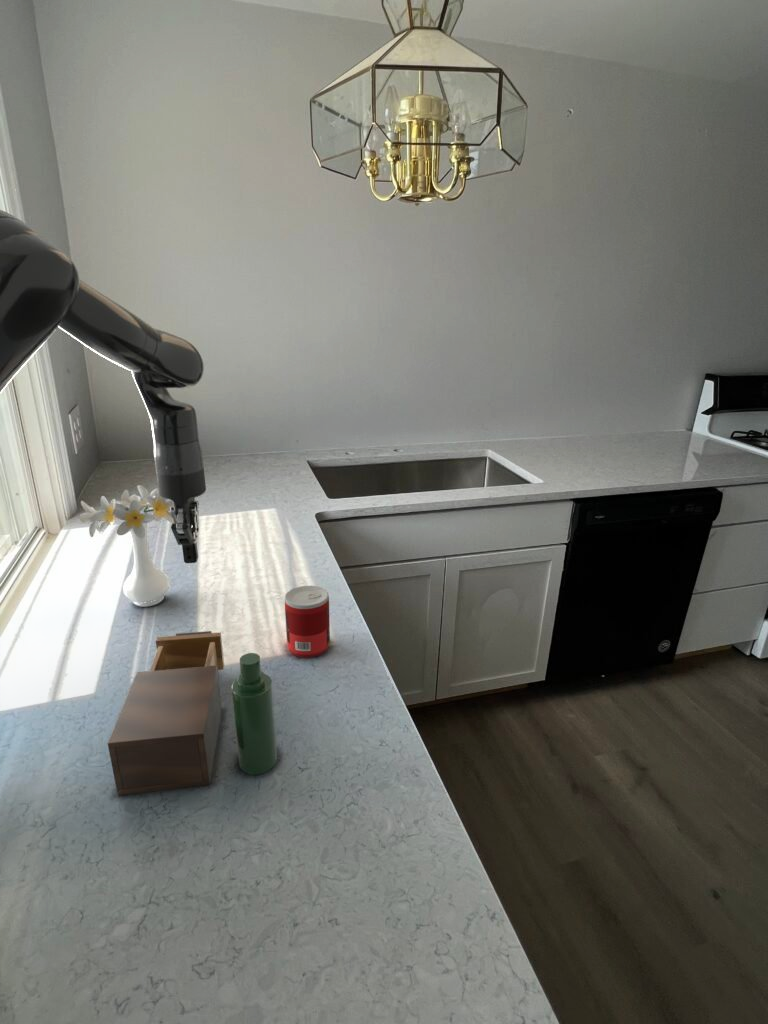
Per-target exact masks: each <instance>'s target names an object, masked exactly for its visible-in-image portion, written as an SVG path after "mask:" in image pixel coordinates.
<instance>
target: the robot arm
mask: <svg viewBox="0 0 768 1024" xmlns="http://www.w3.org/2000/svg"><path fill="white" fill-rule="evenodd" d="M58 328H59V329H60V330H62V331H63V332H65V333H67V334H68V335H70V336H71V337H72V338H73V339H75V340H77V341H78V342H80V343H81V344H82V345H84V346H85V347H86V348H89V349H90V350H91V351H93V352H94V353H96V354H98V355H99V356H100V357H103V358H105V359H106V360H108V361H110V362H111V363H114V364H116V365H118V366H119V367H122V368H124V369H126V370H128V371H131V374H132V375H131V376H132V378H133V380H134V382H135V384H136V387H137V389H138V391H139V394H140V396H141V398H142V401H143V403H144V406H145V408H146V410H147V413H148V417H149V419H150V424H151V431H152V432H151V433H152V440H153V441H152V442H153V459H154V467H155V474H156V480H157V488H158V489H159V494H160V496H161V497H163V498H165V499H166V500H169V501H173V507H171V511H170V513H171V516H172V518H173V519H174V524H173V523H171V525H170V530H171V531H172V534H173V536H174V538H175V541H176V543H177V545H178V546H181V548H182V556H183V562H184V563H185V564H195V563H197V562H198V559H199V552H198V550H199V549H198V541H197V540H198V538H199V535H198V533H199V531H200V528H199V525H200V519H199V509H200V502H199V500H196V498H199V497H200V496H202V495H204V494H205V492H206V490H207V485H206V477H205V476H206V475H205V466H204V457H203V451H202V446H201V443H200V435H199V427H198V418H197V412H196V409H195V407H194V406H193V405H192V404H190V403H188V402H184V401H181V400H177V399H175V398H174V397H173V396H172V394H171V393H170V392H169V390H168V389H190V388H193V387H195V386H196V385H197V384H199V382H200V381H201V379H202V378H203V375H204V371H205V370H204V369H205V366H204V365H205V364H204V361H203V358H202V355H201V354H200V352H199V350H198V349H197V348H196V346H194V344H193V343H191V342H189V341H188V340H186V339H184V338H182V337H179V336H177V335H174V334H172V333H169V332H167V331H164V330H161V329H157V328H155V327H152V325H150V324H149V323H147V322H146V321H145V320H143V319H142V318H141V317H140V316H138V315H136V314H134V313H133V312H131V311H130V310H129V309H127V308H125V307H124V306H122V305H121V304H120V303H117V301H116V302H115V301H114V300H113V299H111V298H109V297H108V296H106V295H104V293H101V292H100V291H99V290H97V289H95V288H94V287H92V286H90V285H88V284H87V283H86V282H84V281H83V280H81V279H80V275H79V271H78V268H77V266H76V264H75V262H74V261H73V259H71V257H70V256H68V254H66V253H65V252H64V251H62V250H61V249H60V248H59V247H57V246H56V245H55V244H53V243H52V242H50V241H49V240H48V239H46V238H45V236H43V235H41V234H40V233H38V231H36V230H35V229H33V228H32V227H31V226H29V225H27V224H26V223H25V222H23V221H22V220H20V218H17V217H16V216H14V215H12V214H11V213H9V212H7V211H4V210H2V209H0V394H1V393H2V392H3V390H5V389H6V387H7V386H8V384H9V383H10V382H11V381H12V380H13V379H14V377H15V376H16V375H17V374H18V373H19V372H20V371H21V369H22V368H23V367H24V366H25V365H26V364H27V363H28V362H29V360H30V359H31V358H32V357H33V356H34V355H35V354H36V353H37V351H38V350H40V349H41V348H42V346H43V345H44V344H45V343H46V342H47V341H48V339H49V338H50V337H51V336H52V335H53V333H55V331H56V330H57V329H58Z"/></svg>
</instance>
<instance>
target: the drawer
mask: <svg viewBox="0 0 768 1024" xmlns="http://www.w3.org/2000/svg"><path fill="white" fill-rule="evenodd" d="M155 647H156V652H155V655H154V657H153V660H152V663H151V665H150V668H149V670H148V671H156V670H168V669H180V668H192V667H204V666H217V673H218V674H219V671H224V670H225V659H224V648H223V640H222V632H221V631H220V632H212V630H208V631H193V632H179V633H175V635H169V636H167V635H165V636H156V639H155Z"/></svg>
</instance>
